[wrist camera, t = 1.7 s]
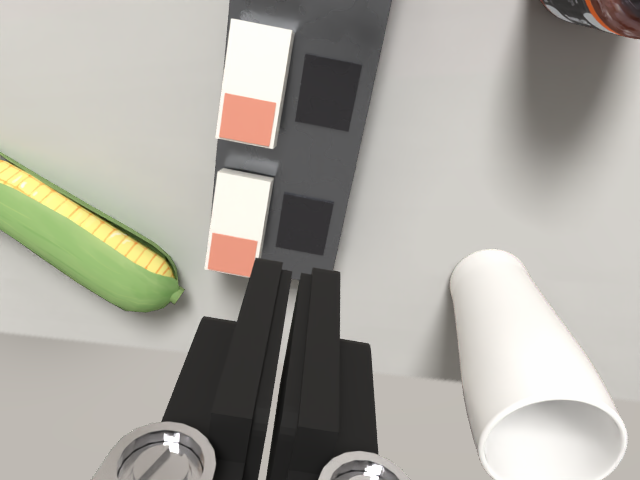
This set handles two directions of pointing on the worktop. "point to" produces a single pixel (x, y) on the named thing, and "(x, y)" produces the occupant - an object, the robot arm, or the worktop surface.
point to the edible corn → (85, 242)
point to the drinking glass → (528, 379)
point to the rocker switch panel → (312, 123)
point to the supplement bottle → (600, 14)
